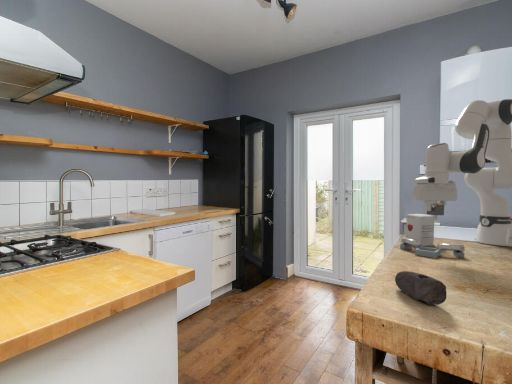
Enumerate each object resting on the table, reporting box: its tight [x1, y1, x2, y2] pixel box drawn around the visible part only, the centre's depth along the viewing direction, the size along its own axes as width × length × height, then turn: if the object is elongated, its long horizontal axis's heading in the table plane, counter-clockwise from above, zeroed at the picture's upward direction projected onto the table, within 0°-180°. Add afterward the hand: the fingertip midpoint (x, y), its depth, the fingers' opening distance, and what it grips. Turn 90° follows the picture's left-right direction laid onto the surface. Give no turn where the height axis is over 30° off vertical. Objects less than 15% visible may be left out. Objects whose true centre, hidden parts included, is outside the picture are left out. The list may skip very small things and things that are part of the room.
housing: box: [414, 246, 442, 259], centre depth 120 cm, size 8×8×2 cm
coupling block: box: [426, 202, 445, 216], centre depth 122 cm, size 4×4×5 cm
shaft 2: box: [437, 243, 466, 259], centre depth 117 cm, size 9×4×5 cm, turn 73°
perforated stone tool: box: [394, 270, 448, 306], centre depth 76 cm, size 15×5×7 cm, turn 14°
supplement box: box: [405, 213, 436, 247], centre depth 140 cm, size 9×9×15 cm
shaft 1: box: [399, 237, 422, 250], centre depth 128 cm, size 9×4×5 cm, turn 18°
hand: (435, 211), depth 122 cm, fingers closed on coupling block, 4 cm apart
